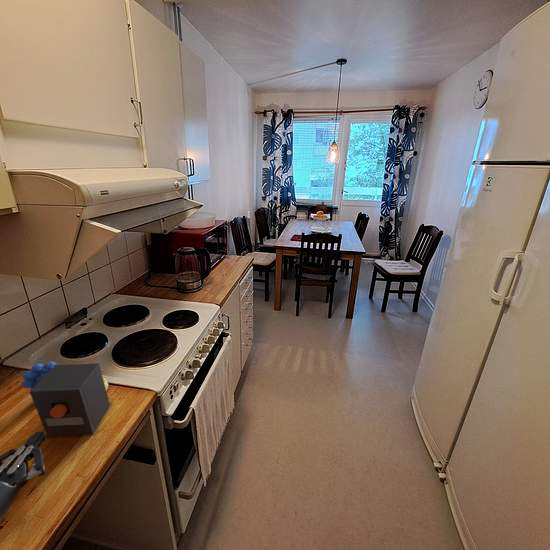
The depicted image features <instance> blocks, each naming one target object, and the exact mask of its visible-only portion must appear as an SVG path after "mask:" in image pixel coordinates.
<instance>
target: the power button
mask: <svg viewBox="0 0 550 550" xmlns="http://www.w3.org/2000/svg"><path fill="white" fill-rule="evenodd" d="M66 411H67V408H66V406H64V405H62V404H57V405H55V406H54V407H53V408H52V410H51V411H50V414H51V416H53V417H55V418H61V417H63V415H64V414H65V413H66Z"/></svg>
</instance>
